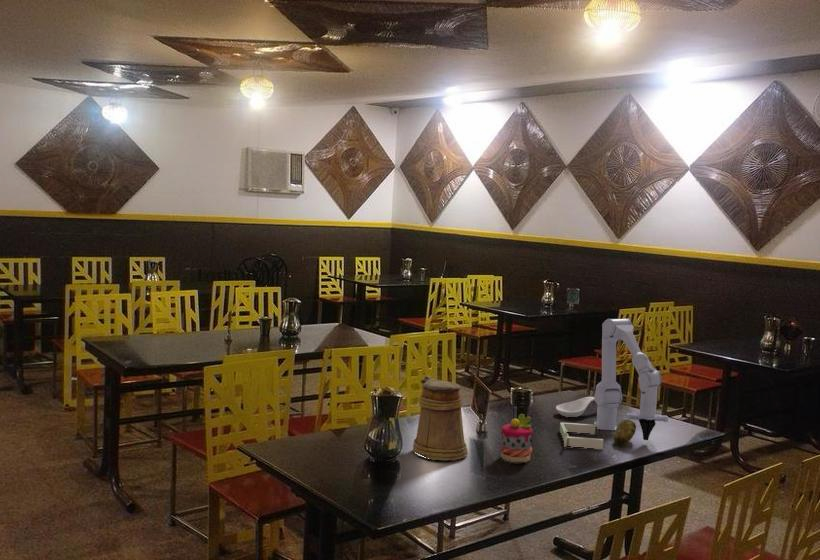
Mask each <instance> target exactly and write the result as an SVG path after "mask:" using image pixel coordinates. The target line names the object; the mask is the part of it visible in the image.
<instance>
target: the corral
mask: <svg viewBox="0 0 820 560" xmlns="http://www.w3.org/2000/svg"><path fill="white" fill-rule="evenodd" d="M565 430H567V432H577V433H576V434H580V433H590V434H589V435H596V426H595V424H591V423H576V422H575V423H573V422H560V423H559V433H561V434H560V436H561V435H562V436H561V438H563V439H562V442H563V441H564V440H565ZM566 446H571V447H570V448H573V447H584V448H583V449H587V448H594V449H593V450H602V449H603V450H604V439H603V438H592V437H580V436H579V437H577V436H569V433H567V444H566Z"/></svg>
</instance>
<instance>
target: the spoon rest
mask: <svg viewBox="0 0 820 560" xmlns="http://www.w3.org/2000/svg"><path fill="white" fill-rule="evenodd" d="M594 401H595V399H594V396H586V397H582V398H579V399H576V400H572V401H568V402H565V403H560V404H557V405H556V406H555V410H556V411H557V413H558V414H559V415H561V416H562V417H564V416H565V417H564V418H568V417H577V418H579V417H580V416H581V415H582V414H584V413H585V411H586V410H587V408H588V406H589V405H590V403H592V402H594ZM596 406H597V408H598V405H597V404H596ZM578 416H579V417H578Z"/></svg>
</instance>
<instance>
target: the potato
mask: <svg viewBox="0 0 820 560" xmlns="http://www.w3.org/2000/svg"><path fill="white" fill-rule="evenodd" d="M616 427H617V428H616V431H614V433H613V440H612V441H613V442H614V444H616V445H618V446H619V447H624V446H626V445H627V444H628V443H629V442H630V441H631V440H632V438H633V437H634V435H635V434H636V429H637V425H636V423H635V422H634V421H632V420H631V419H630V420H628V419H623V420H621V421H620V422H619V423H618V424H617V426H616Z"/></svg>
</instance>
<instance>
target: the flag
mask: <svg viewBox="0 0 820 560" xmlns="http://www.w3.org/2000/svg"><path fill="white" fill-rule="evenodd" d="M566 444H567V430H565V440H564V442H563V448H564V447H566ZM566 448H567V447H566Z"/></svg>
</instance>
